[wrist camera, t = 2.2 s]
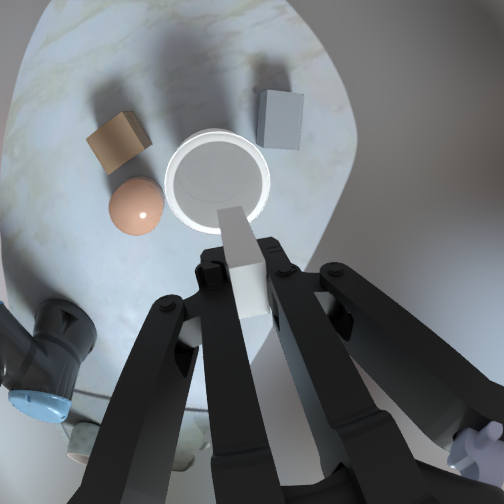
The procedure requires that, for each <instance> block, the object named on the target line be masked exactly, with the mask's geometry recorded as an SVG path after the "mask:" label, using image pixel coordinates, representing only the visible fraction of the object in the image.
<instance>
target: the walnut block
mask: <svg viewBox="0 0 504 504" xmlns="http://www.w3.org/2000/svg"><path fill="white" fill-rule="evenodd" d="M86 141H87V142H88V144H89V146H90V147H91V149H92V151H93V152H94V154H95V155H96V157H97V159H98V160H99V162H100V163H101V165H102V167H103V168H104V170H105V171H106V173H107V174H108V175H109V174H111V173H112V172H113V171H115V170H116V169H117V168H119V167H120V166H121V165H123V164H124V163H126V162H127V161H128V160H130V159H131V158H133V157H134V156H136V155H137V154H139V153H140V152H142V151H143V150H145V149H146V148H147V147H149V146H150V145H152V143H151V141H150V139H149V138H148V136H147V134H146V133H145V131H144V130H143V128H142V126H141V125H140V123H139V121H138V120H137V118H136V116H135V114H134V113H133V111H122V112H120V113H119V114H118V115H116V116H115V117H114V118H112V119H111V120H109V121H108V122H107V123H105V124H104V125H103V126H102V127H100V128H99V129H98V130H96V131H95V132H94V133H93V134H91V135H90V136H89V137H88V138H87V139H86Z"/></svg>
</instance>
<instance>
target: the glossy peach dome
mask: <svg viewBox="0 0 504 504" xmlns="http://www.w3.org/2000/svg"><path fill="white" fill-rule="evenodd" d="M164 205H165V198H164V193H163V191H162V189H161V187H160V186H159V185H158V184H157V183H156V182H155V181H154V180H152V179H150V178H148V177H144V176H136V177H132V178H130V179H128V180H126V181H125V182H124V183H123V184H122V185H121V186H120V187H119V188H118V189H117V190H116V191H115V192H114V193H113V195H112V197H111V199H110V202H109V214H110V217H111V220H112V221H113V223H114V225H115V226H116V227H117V228H118V229H119V230H121V231H122V232H124V233H126V234H129V235H135V236H137V235H144V234H146V233H149V232H150V231H152V230H153V229H154V228H155V227H156V226H157V224H158V223H159V221H160V218H161V215H162V212H163V209H164Z"/></svg>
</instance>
